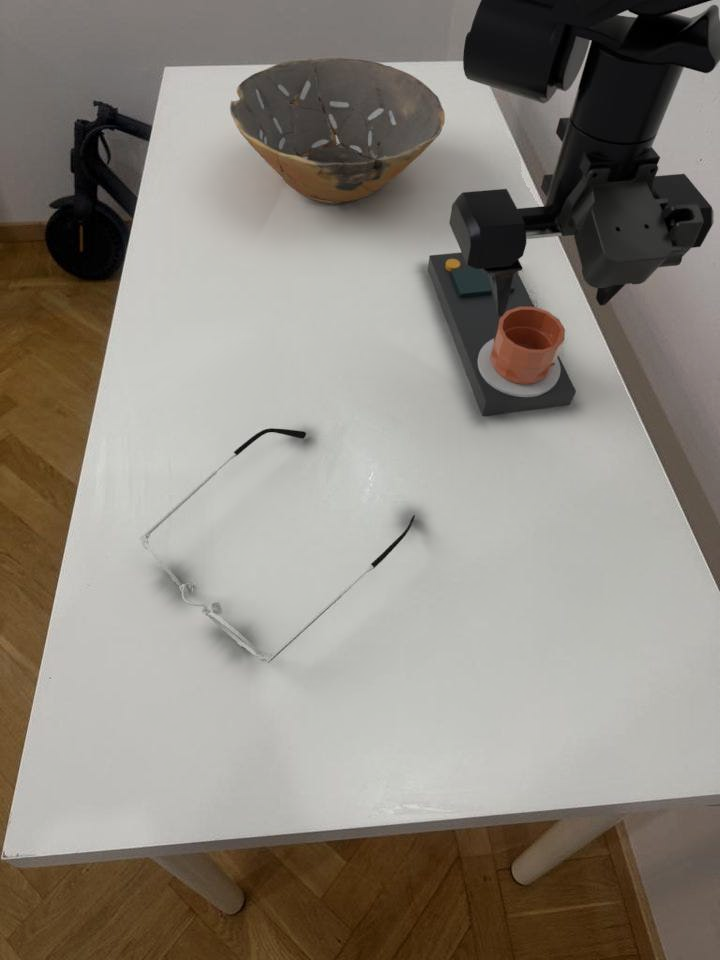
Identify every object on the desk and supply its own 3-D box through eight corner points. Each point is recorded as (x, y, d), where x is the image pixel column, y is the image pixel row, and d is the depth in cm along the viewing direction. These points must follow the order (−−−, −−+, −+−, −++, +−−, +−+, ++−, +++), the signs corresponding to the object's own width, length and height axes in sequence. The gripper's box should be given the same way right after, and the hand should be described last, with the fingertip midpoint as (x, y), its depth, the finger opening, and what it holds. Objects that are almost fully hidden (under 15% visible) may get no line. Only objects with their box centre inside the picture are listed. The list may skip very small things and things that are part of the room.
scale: (570, 405, 62) (578, 387, 60) (482, 416, 61) (487, 398, 59) (502, 262, 74) (507, 243, 72) (427, 269, 73) (430, 250, 71)
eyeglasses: (131, 558, 52) (113, 528, 47) (294, 427, 60) (291, 391, 55) (267, 693, 46) (260, 672, 42) (427, 528, 54) (435, 496, 50)
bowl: (457, 232, 77) (471, 151, 69) (253, 255, 74) (243, 172, 65) (405, 125, 91) (412, 47, 82) (231, 140, 87) (220, 60, 79)
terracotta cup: (552, 347, 63) (566, 312, 59) (549, 392, 60) (563, 358, 56) (492, 336, 64) (502, 301, 60) (485, 380, 60) (495, 346, 57)
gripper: (516, 204, 36) (470, 390, 49) (810, 179, 38) (692, 362, 51) (464, 107, 42) (435, 295, 55) (720, 90, 45) (635, 274, 58)
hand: (549, 307), depth 55 cm, fingers open, 9 cm apart
